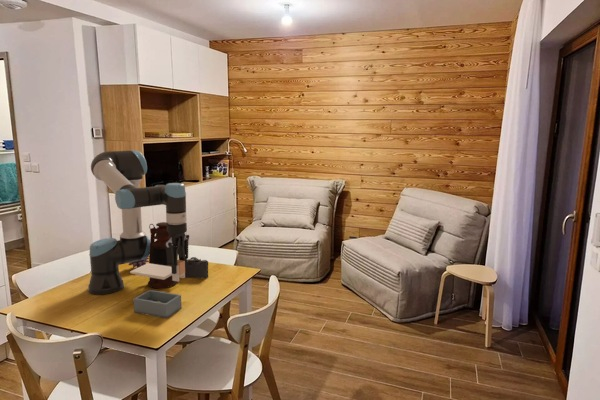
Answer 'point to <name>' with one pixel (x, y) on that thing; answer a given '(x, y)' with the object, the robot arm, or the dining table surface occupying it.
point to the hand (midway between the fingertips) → (178, 278)
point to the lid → (158, 270)
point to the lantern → (159, 254)
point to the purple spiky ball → (139, 263)
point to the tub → (157, 303)
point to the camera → (196, 268)
